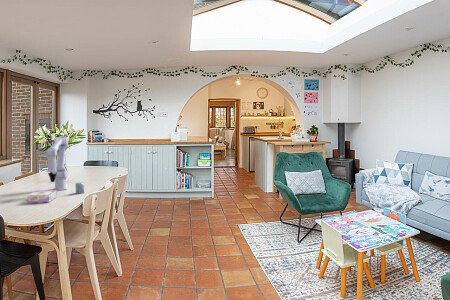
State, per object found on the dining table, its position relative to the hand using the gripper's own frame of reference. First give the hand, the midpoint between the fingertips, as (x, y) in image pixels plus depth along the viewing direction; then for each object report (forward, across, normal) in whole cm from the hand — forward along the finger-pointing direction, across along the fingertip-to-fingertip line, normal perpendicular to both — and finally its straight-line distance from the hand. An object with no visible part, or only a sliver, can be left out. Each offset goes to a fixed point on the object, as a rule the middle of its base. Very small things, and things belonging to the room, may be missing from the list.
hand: (52, 181), depth 240 cm
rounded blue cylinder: (+10, +8, +18) cm, 22 cm away
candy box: (+7, +9, -6) cm, 13 cm away
